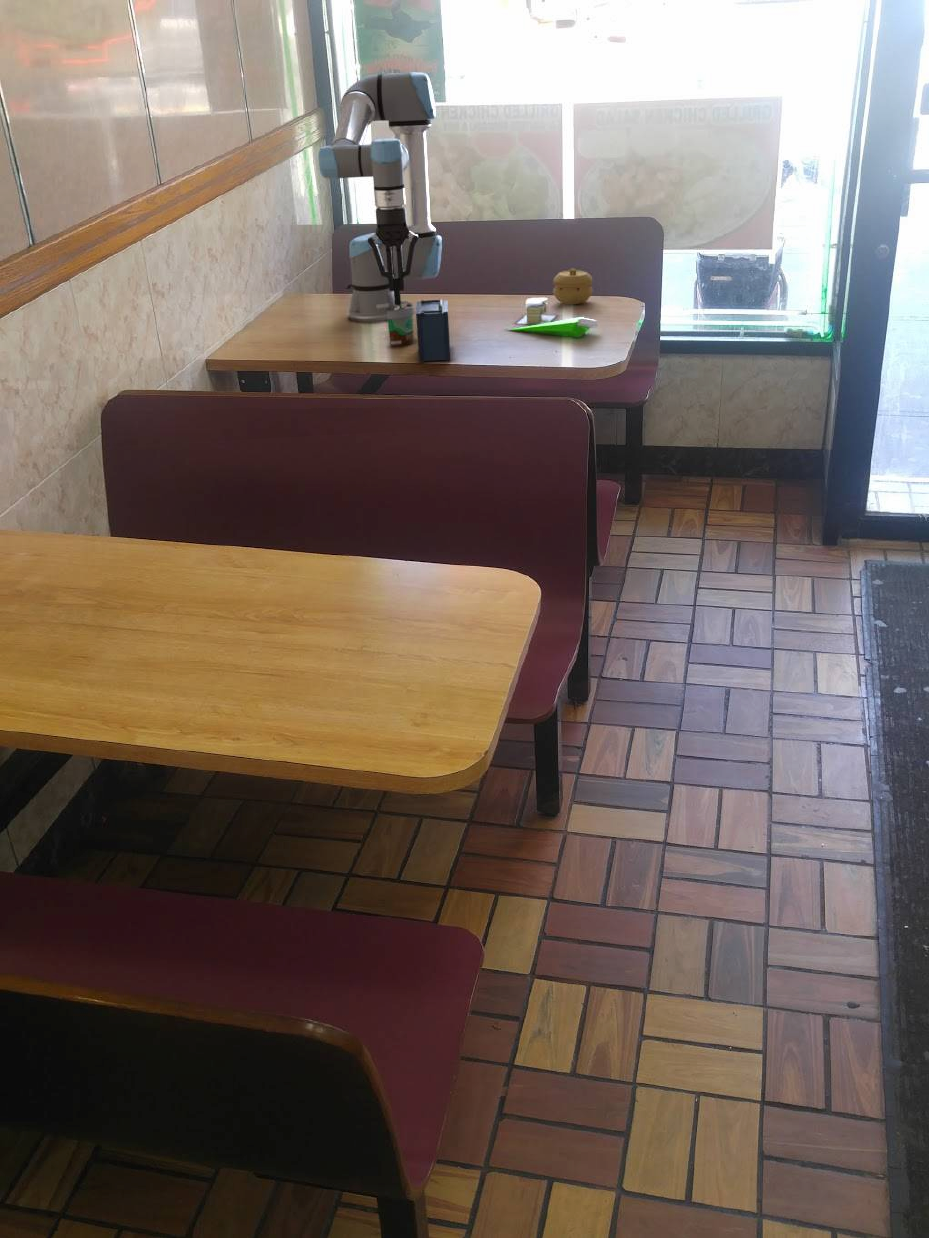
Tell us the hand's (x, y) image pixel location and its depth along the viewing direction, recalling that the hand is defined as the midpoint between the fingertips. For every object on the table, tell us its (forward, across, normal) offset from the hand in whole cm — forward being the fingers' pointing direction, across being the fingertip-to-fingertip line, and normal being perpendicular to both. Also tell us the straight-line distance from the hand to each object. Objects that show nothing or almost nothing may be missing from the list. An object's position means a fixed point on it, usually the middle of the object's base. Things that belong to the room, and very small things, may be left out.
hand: (397, 303), depth 289 cm
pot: (+14, +50, +49) cm, 71 cm away
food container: (+14, +1, +14) cm, 20 cm away
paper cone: (+14, +41, +13) cm, 45 cm away
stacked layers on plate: (+14, +38, +31) cm, 51 cm away
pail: (+14, +9, 0) cm, 16 cm away
